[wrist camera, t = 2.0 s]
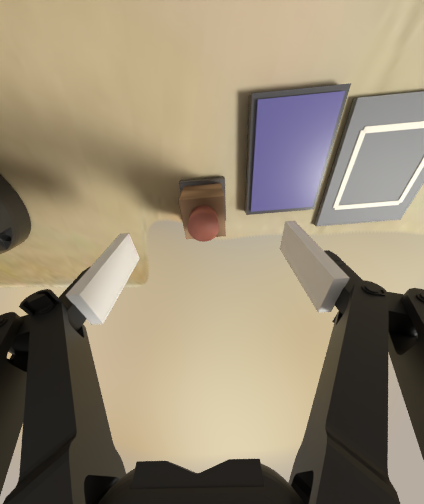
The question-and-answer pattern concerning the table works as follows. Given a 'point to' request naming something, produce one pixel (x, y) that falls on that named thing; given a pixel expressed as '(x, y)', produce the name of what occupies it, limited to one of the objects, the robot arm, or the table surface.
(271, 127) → the ink pad
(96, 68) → the table surface
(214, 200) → the stamp
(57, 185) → the table surface
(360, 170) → the board
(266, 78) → the table surface
